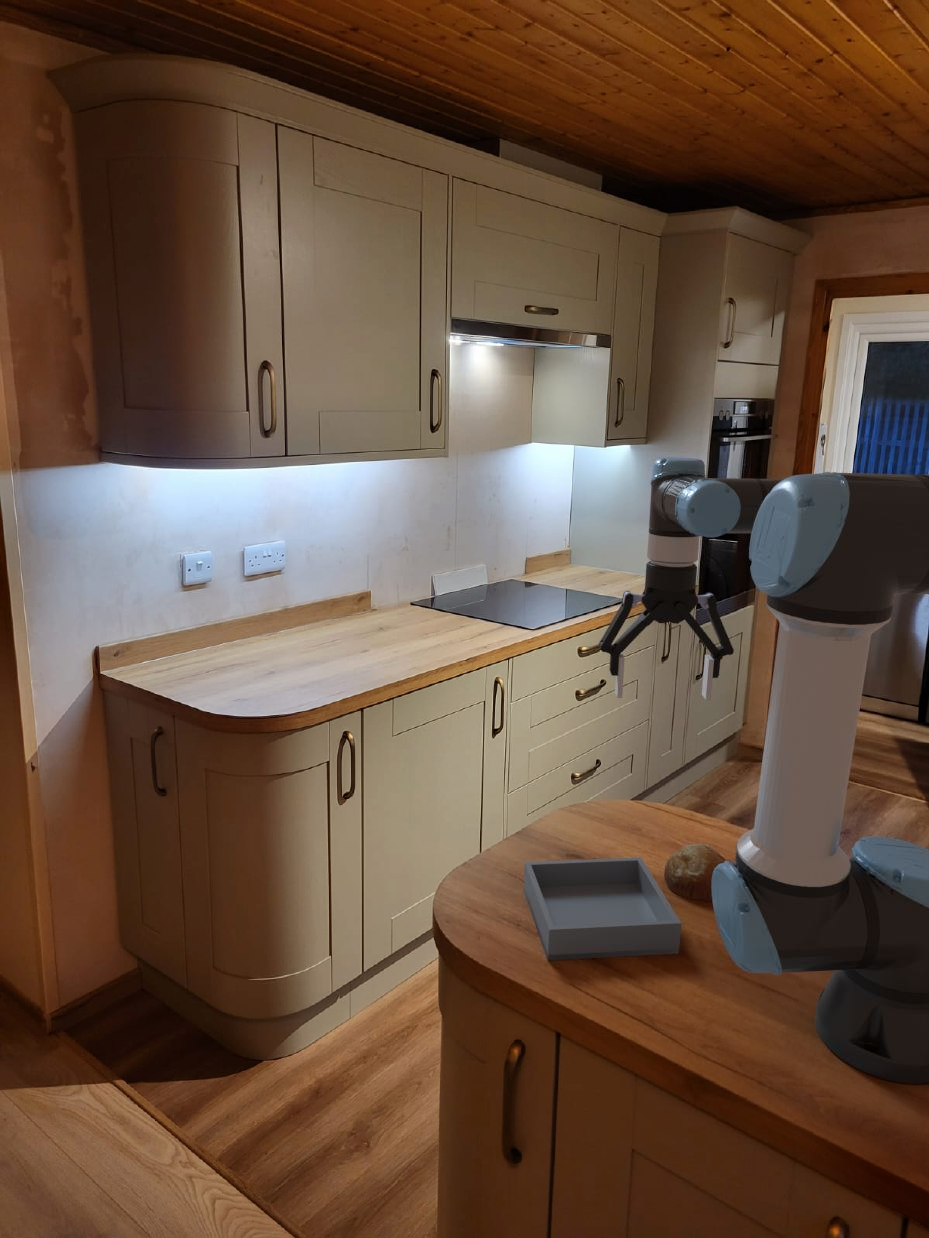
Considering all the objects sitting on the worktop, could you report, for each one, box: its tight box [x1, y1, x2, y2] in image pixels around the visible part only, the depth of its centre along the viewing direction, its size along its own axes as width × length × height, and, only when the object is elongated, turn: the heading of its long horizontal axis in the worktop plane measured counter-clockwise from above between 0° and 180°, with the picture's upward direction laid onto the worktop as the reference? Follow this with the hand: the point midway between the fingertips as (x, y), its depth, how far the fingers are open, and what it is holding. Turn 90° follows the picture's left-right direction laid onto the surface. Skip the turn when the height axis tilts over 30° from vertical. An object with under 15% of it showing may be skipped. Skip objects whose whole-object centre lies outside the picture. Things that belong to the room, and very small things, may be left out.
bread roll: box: [663, 843, 727, 902], centre depth 140 cm, size 10×10×8 cm
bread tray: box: [523, 856, 682, 961], centre depth 130 cm, size 18×18×4 cm
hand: (662, 696), depth 146 cm, fingers open, 13 cm apart
